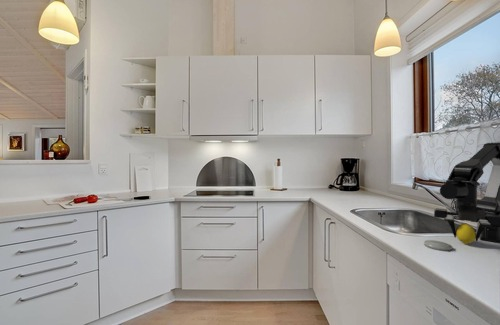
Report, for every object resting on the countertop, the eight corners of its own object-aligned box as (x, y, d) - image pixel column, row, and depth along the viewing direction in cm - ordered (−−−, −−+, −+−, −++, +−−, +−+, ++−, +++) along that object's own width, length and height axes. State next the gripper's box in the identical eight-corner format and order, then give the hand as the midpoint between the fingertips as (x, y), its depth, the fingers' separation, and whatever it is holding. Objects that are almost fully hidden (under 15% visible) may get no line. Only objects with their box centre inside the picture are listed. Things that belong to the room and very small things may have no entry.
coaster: (424, 241, 91) (424, 238, 91) (451, 246, 86) (451, 243, 86) (423, 247, 85) (423, 244, 85) (452, 253, 80) (452, 250, 80)
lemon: (465, 241, 91) (465, 221, 91) (479, 246, 86) (480, 225, 86) (451, 241, 91) (452, 221, 91) (465, 247, 86) (465, 225, 85)
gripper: (434, 197, 88) (433, 239, 88) (507, 204, 76) (506, 251, 76) (435, 194, 96) (434, 231, 97) (500, 199, 84) (500, 242, 85)
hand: (465, 238), depth 88 cm, fingers closed on lemon, 5 cm apart
